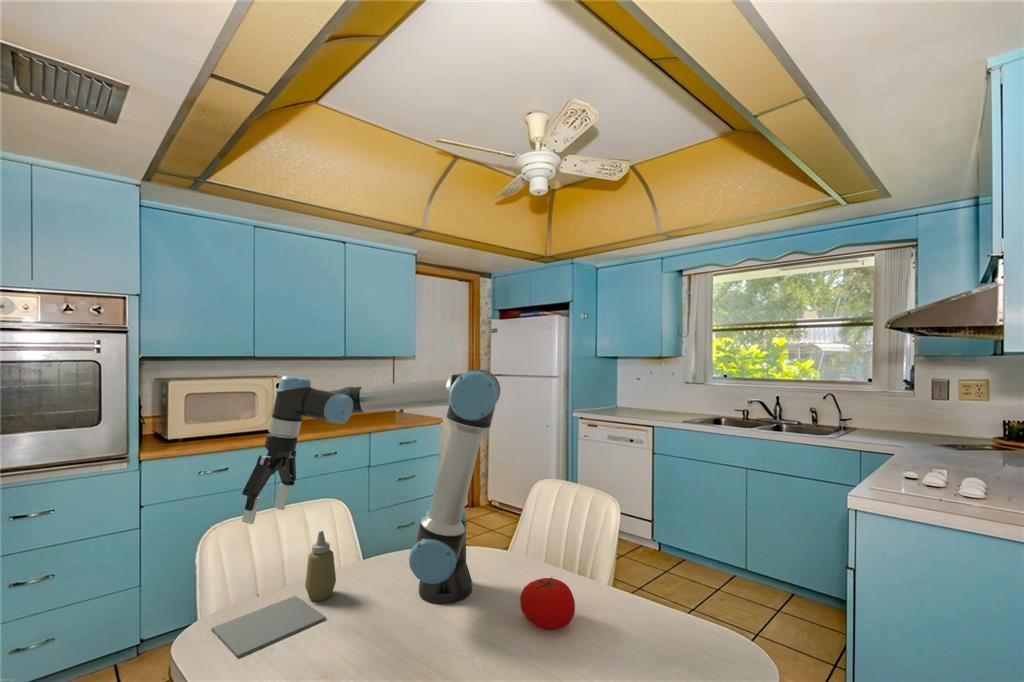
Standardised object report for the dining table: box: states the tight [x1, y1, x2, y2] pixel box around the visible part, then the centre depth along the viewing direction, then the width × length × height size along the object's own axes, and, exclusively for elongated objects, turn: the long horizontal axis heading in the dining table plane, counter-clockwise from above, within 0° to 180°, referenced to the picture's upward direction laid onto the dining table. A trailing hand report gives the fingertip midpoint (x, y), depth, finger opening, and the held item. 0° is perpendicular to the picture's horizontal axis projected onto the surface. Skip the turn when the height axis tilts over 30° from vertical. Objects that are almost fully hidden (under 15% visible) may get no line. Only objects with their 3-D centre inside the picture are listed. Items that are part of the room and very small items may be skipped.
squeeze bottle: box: [304, 530, 337, 602], centre depth 139 cm, size 8×8×18 cm
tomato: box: [519, 576, 576, 631], centre depth 125 cm, size 14×13×10 cm
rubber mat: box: [211, 595, 327, 659], centre depth 125 cm, size 16×21×1 cm
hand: (264, 515), depth 129 cm, fingers open, 13 cm apart
